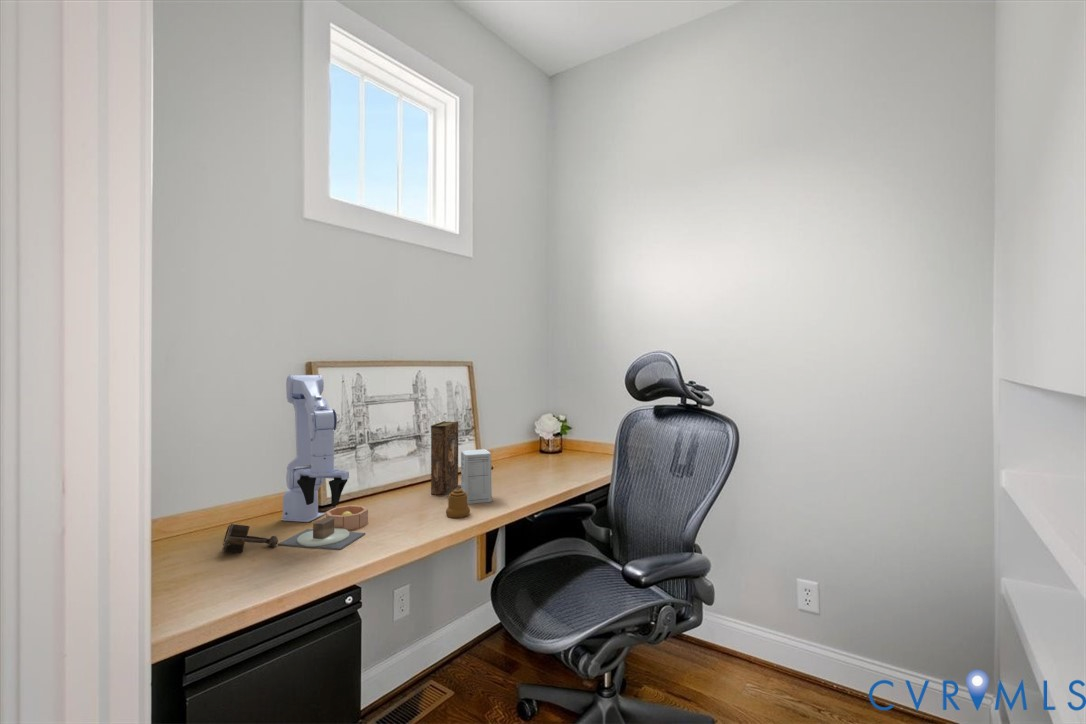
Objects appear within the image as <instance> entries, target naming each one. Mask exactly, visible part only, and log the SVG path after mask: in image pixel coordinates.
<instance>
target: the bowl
mask: <svg viewBox="0 0 1086 724" xmlns="http://www.w3.org/2000/svg"><path fill="white" fill-rule="evenodd" d="M325 518H334V528H343V529H346V530H348V531H350V530H355V529H360V528H362V527H364V526H365V525H367V524H368V523H369V509H368V508H367V507H365V506H364V505H353V504H351V505H349V504H348V505H344V506H343V505H342V506H334V507H333V508H331V509H329V510H326V511H325Z"/></svg>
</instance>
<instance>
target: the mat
mask: <svg viewBox="0 0 1086 724" xmlns="http://www.w3.org/2000/svg"><path fill="white" fill-rule="evenodd" d="M312 530H313V528H306V529H305V530H303V531H300V532H298V533H296V534H294V535H292V536H290V537H287V539H284V540H282V541H281V542H278V543H277V545H278V546H283V547H297V548H299V547H300V548H308V549H309V548H310V549H320V550H321V549H323V550H336V551H340V550H341V551H342V550H343V549H345V548H346V547H347V546H349V545H350V544H353V543H354V542H355V541H358V540H359V539H360V538H362V537H363V536H365V535H366V532H357V531H349V537H348V538H347V539H345V540H343V541H341V542H338V543H335V544H331V545H325V546H314V547H311V546H303V545H300V544H298V543H297V538H298V537H299V536H300V535H302V534H304V533H306V532H309V531H312Z"/></svg>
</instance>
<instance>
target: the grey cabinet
mask: <svg viewBox="0 0 1086 724" xmlns="http://www.w3.org/2000/svg"><path fill="white" fill-rule="evenodd" d="M460 482H461V483H460V486H461V487H460V489H462V490H463V491H464V492H465V493H466V494H467V504H468V505H470V504H471V505H472V504H482V503H483V504H484V503H491V502H492V500H493V499H492V453H491V452H490V451H488V450H487V449H486V448H484V449H469V450H468V449H467V450H461V451H460Z"/></svg>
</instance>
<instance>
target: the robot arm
mask: <svg viewBox="0 0 1086 724" xmlns="http://www.w3.org/2000/svg"><path fill="white" fill-rule="evenodd" d="M324 384H325V382H324V377H323V375H321V374H296V375H295V374H288V375H287V377H286V382H285V387H286V388H285V389H286V393H285V394H286V400H287V402H288V404H292V405H293V408H294V417H295V418H294V420H295V421H294V422H295V443H296V444H295V445H296V447H295V448H296V457H295V458H294V459H293V460H291V461H290V462H289V463H288V464H287V466H286V477H285V478H286V487H287V490H286V491H284V493H283V497H282V518H281V519H280V520H281V521H285V522H299V523H300V522H302V523H309V522H311V521H314V520H316V519H318V518H320V517H323V516H324V515H325V512H319V489H320V487H321V486H322V485H323V484H324V481H325V480H324V479H331V480H328V485H329V489H330V495H331V496H330V499H331V501H330V502H331V507H338V506H339V505H340V500H341V495H342V493H343V491H344V488H345V486H346V484H347V483H348V480H349V478H350V471H349V470H341V469H336V468H335V431H336V430H337V427H338V415H337V412H336V409H335V408H330V406H329V404H328V401H327V399H326V397H325V396H322V394H323V392H324V387H325V385H324ZM306 466H307V467H306ZM299 467H300V468H299Z"/></svg>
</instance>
